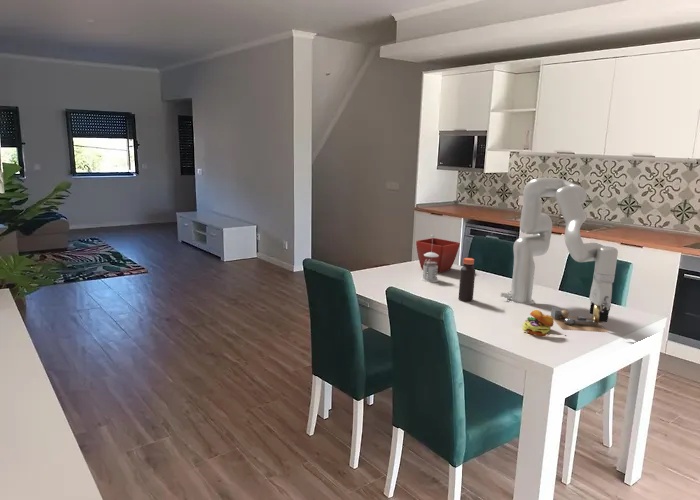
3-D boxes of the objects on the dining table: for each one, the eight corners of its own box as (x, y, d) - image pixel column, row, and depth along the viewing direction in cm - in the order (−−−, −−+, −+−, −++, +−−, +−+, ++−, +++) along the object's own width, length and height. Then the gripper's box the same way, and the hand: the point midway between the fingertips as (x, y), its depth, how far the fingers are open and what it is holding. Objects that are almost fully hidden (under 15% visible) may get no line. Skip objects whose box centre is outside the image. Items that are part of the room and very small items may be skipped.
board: (562, 332, 204) (562, 329, 203) (549, 318, 220) (549, 315, 220) (608, 335, 202) (609, 332, 202) (592, 320, 219) (592, 318, 219)
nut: (560, 319, 215) (561, 311, 215) (558, 316, 219) (559, 308, 218) (569, 320, 215) (570, 311, 214) (566, 317, 219) (567, 309, 218)
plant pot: (458, 270, 303) (460, 242, 299) (440, 275, 289) (442, 246, 286) (431, 264, 316) (433, 237, 312) (413, 268, 302) (415, 241, 299)
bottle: (475, 300, 243) (479, 259, 239) (468, 302, 238) (471, 261, 234) (463, 296, 248) (466, 256, 244) (455, 299, 243) (458, 258, 239)
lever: (566, 325, 208) (568, 304, 206) (561, 320, 213) (564, 301, 211) (603, 327, 207) (606, 306, 205) (598, 322, 212) (601, 302, 210)
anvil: (554, 319, 215) (555, 310, 214) (550, 315, 220) (551, 306, 219) (560, 320, 215) (561, 310, 214) (556, 316, 220) (557, 307, 219)
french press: (441, 279, 280) (444, 234, 275) (433, 283, 270) (436, 237, 265) (425, 276, 285) (428, 232, 280) (416, 280, 275) (419, 235, 270)
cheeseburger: (516, 327, 207) (524, 304, 205) (540, 333, 208) (548, 311, 206) (527, 336, 197) (535, 312, 195) (552, 342, 198) (560, 319, 197)
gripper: (586, 271, 214) (581, 310, 217) (602, 282, 197) (597, 324, 200) (604, 272, 213) (599, 311, 216) (622, 283, 196) (616, 325, 200)
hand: (598, 317), depth 208 cm, fingers open, 9 cm apart
